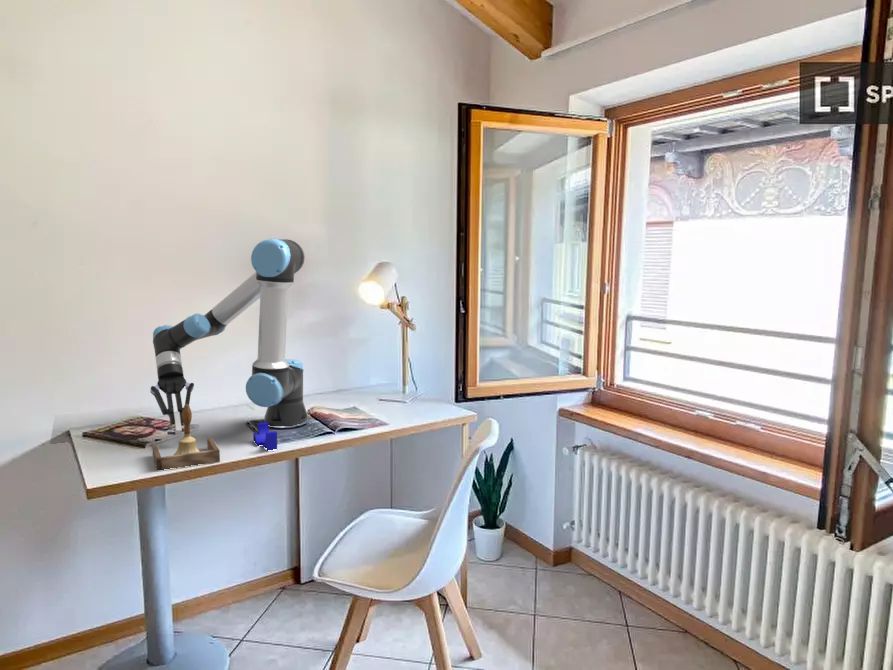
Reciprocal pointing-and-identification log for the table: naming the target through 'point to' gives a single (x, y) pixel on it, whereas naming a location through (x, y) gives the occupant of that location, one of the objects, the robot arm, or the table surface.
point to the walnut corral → (187, 457)
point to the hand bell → (186, 434)
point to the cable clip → (265, 437)
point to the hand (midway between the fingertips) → (178, 432)
